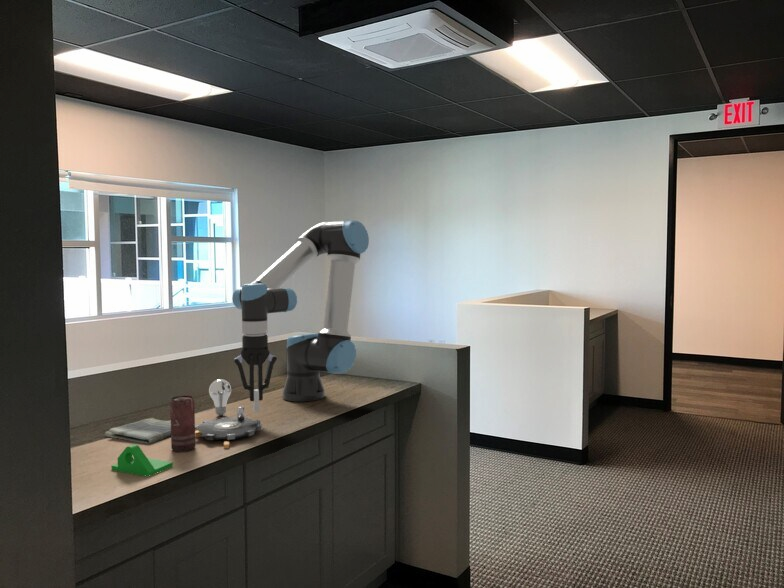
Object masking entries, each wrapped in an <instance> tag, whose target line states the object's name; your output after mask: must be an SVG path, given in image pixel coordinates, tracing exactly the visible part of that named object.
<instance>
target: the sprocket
mask: <svg viewBox="0 0 784 588" xmlns="http://www.w3.org/2000/svg"><path fill="white" fill-rule="evenodd" d="M262 429H263V424H261V420H259V419H252V418H251V419H250V418H248V417H245V406H237V417H227V416H226V417H221V418H219V419H218V418H217V419H213V420H209V419H207V420H203V421H202V423H200V424H198V425H196V424H195V438H199V437H202V438H205V440H207V441H214V440H213V439H227V440H226V441H231V440H230V439H235V438H236V437H242V436H245V437H251V436H254V435H255V432H257V431H262ZM235 440H236V439H235Z"/></svg>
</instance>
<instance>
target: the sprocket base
mask: <svg viewBox="0 0 784 588" xmlns="http://www.w3.org/2000/svg"><path fill="white" fill-rule="evenodd" d="M245 437H246V436H242V437H236V438H235V439H230V440H229V441H233V440H239V439H243V438H245ZM218 440H219V441H220V442H221V441H223V442H224V441H228V440H227V439H213V440H212V441H218Z"/></svg>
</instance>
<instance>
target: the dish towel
mask: <svg viewBox="0 0 784 588" xmlns="http://www.w3.org/2000/svg"><path fill="white" fill-rule="evenodd" d="M110 437H111V439H116V438H119V439H118V440H122V439H124V441H130V442H134V443H135V442H136V443H142V444H146V445H151V444H154V443H157V442H160V441H162V440H165V439H167V438H171V420H162V419H157V418H154V417H150V418H143V419H141V420H139V421H135V422H130V423H126V424H123V425H121V426H114V427H112V428H109V430H107V431H105V432H104V438H110Z"/></svg>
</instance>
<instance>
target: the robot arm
mask: <svg viewBox="0 0 784 588" xmlns="http://www.w3.org/2000/svg"><path fill="white" fill-rule="evenodd" d="M368 233H369V232H368V230H367V228H366V227H365V225H364V224H363V223H362V222H361V221H359V220H353V219H352V220H351V219H346V220H328V221H326V220H325V221H322V222H318V223H316V224H315V225H313V226H312V227H310V228H309V229H307V230H306V231H304V232H303V233H302V234H301V235H300V236H299V237H297V238H296V240H295V241H294V245H293V246H291V247H290V248H289V249H288V250H287V251H286V252H284V253H283V255H281V256H280V257H279V258H278V259H276V261H275V262H274V263H273V264H271V265H270V266H269V267H268V268H267V269H266V270H264V271H263V272H262V273H261V274H260V275H259V276H258V277H257V278H256V279H254V280H253V281H252V282H251V283H244V284H243V285H241V286H240V287H237V288H236V289H235V290H234V291H233V293H232V299H231V300H232V303H233V306H234V307H235V308H237V309H239V310H241V334H243V335H242V336H241V337H242V339H241V340H242V341H241V342H242V345H241V346H242V350H241V352H240V355H238V356H237V357H234V358H233V362H234V363H235V365H236V366H237V370H238V373H239V376H240V380H241V384H242V386H243V389H244V390H247V391H248V392H249V400H250V402H253V405H252V406H253V412H254V413H260V401H263V397H264V396H263V394H264V393H263V392H264V390H265V389H267V388H269V387H270V386H269V385H270V382H271V377H272V372H273V368H274V365H275V363H276V361H277V359H278V358H277V356H276V355H273V354H271V353H270V349H269V343H268V342H269V339H268V338H269V337H268V336H269V335H268V334H267V333H268V332H269V331H268V330H269V329H268V314H274V313H275V314H276V313H287V312H290V311H293V310H295V308H296V307H297V304H298V296H297V293H296V291H294V290H293V289H292V288H289V287H282V286H283V285H285V284H286V283H287V281H289V280H290V279H291V278H292V277H293V276H294V275H295V274H297V272H298V271H299V270H301V269H302V268H303V266H306V264H307V263H308V262H310V261H313V260H315V259H316V258H318V256H319V257H320V256H321V255H324V254H327V258H328V259H329V260H330V267H329V268H330V269H329V274H328V275H329V276H328V282H327V284H328V285H327V292H326V293H327V294H326V301H325V307H324V308H325V309H324V318H323V327H322V329H321V330H319V331H318V332H312V333H302V334H296V335H295V334H294V335H290V336H288V338H287V340H286V370H287V372H286V373H287V375H286V380H285V382H284V383H285V384H284V387H283V391H282V399H283V400H285V401H288V402H299V403H300V402H303V403H304V402H313V401H319V400H321V399H324V398H325V395H326V394H325V393H326V391H325V387H324V384H323V381H322V379H321V376H320V375H321V373H320V372H322V373H323V372H324V373H329V374H340V375H341V374H345V373H347V372H348V371H349V370H350V369H351V368H352V367H353V366H354V363H355V361H356V358H357V348H356V346H355V344H354V343H353V341H351V339H352V335H351V333H350V332H349V330H348V329H349V321H350V320H349V319H350V312H351V310H350V309H351V302H352V292H353V287H354V286H353V283H354V276H355V269H356V264H357V263H358V262H359V261H360V260H361V254H364V253H365V252H366V251H367V250H368V247H369V242H370V237H369V234H368ZM281 287H282V288H281ZM267 358H268V359H267ZM243 360H244V361H245V363H247V365H248V382H247V379H246V375H245V372H244V369H243V364H242V363H243ZM266 360H268V364H267V369H266V373H265V377H263V365H264V363H265V362H266ZM255 366H257V388H256V389H255V378H254V377H255V376H254V375H255ZM263 378H264V380H263ZM263 381H264V382H263Z"/></svg>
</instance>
